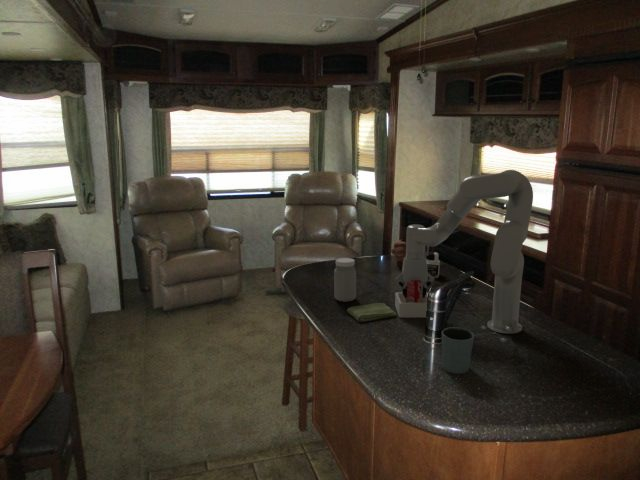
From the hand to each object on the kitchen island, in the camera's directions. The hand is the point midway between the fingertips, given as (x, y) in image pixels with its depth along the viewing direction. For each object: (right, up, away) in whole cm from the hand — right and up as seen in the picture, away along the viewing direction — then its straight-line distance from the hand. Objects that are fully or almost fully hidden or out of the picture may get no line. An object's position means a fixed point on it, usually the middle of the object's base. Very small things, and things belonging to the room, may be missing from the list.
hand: (414, 296), depth 221 cm
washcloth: (-18, -8, -1) cm, 20 cm away
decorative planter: (+9, +9, +70) cm, 71 cm away
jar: (-28, -3, +18) cm, 33 cm away
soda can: (0, -4, +1) cm, 4 cm away
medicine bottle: (+18, +5, +51) cm, 54 cm away
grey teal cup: (+5, -18, -48) cm, 52 cm away
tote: (0, -6, +2) cm, 7 cm away
